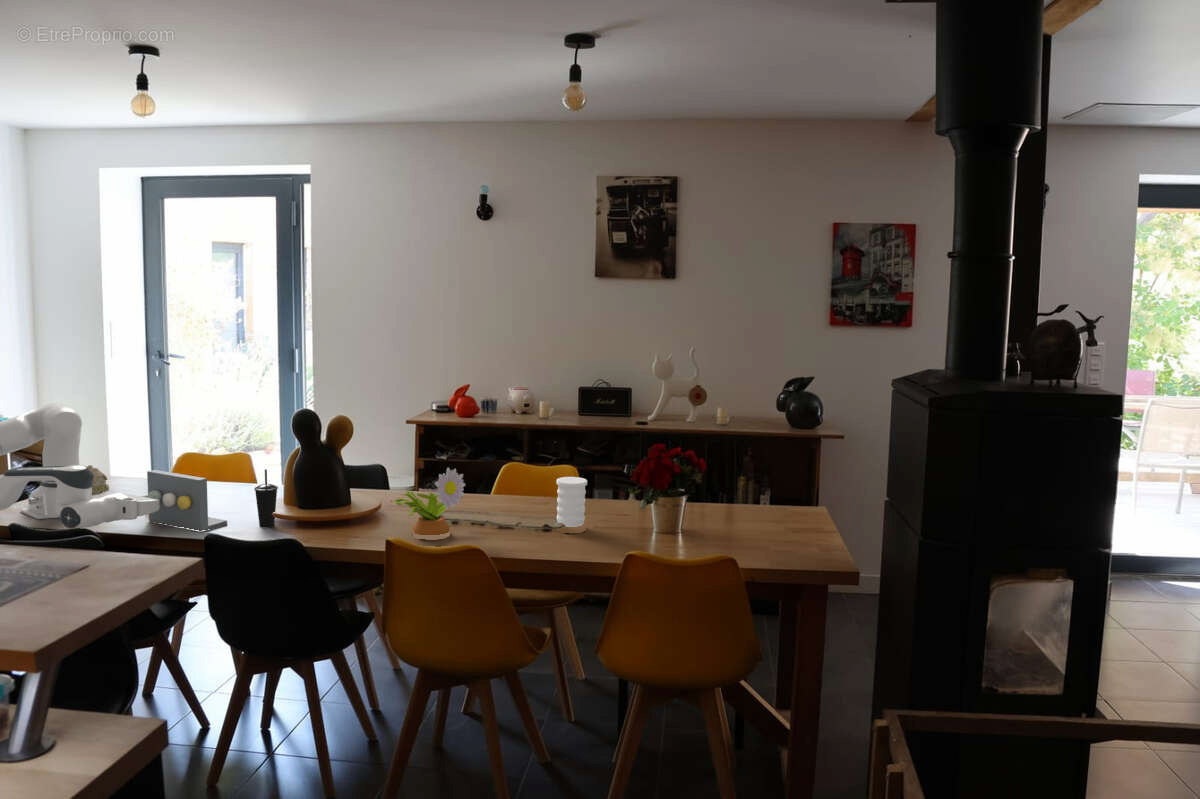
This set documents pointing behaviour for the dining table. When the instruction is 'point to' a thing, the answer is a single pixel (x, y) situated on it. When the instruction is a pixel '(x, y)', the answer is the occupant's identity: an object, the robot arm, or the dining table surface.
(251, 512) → the dining table surface
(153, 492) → the button sage
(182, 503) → the button mustard
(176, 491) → the button panel
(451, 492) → the decorative plant
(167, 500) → the button cream
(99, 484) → the ceramic model
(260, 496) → the drinking cup
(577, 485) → the decorative container
